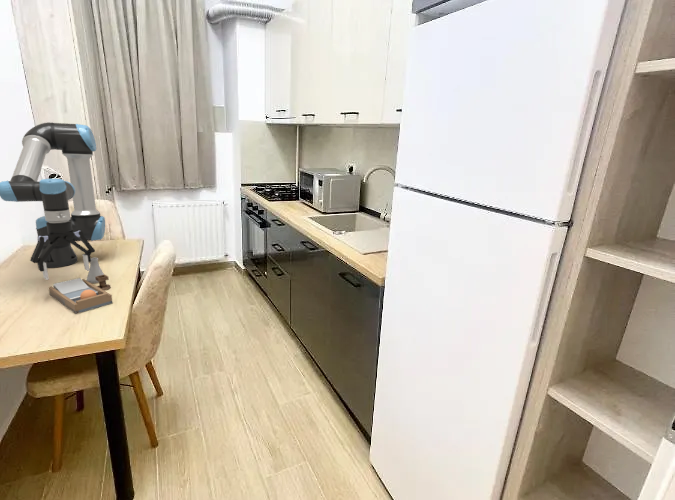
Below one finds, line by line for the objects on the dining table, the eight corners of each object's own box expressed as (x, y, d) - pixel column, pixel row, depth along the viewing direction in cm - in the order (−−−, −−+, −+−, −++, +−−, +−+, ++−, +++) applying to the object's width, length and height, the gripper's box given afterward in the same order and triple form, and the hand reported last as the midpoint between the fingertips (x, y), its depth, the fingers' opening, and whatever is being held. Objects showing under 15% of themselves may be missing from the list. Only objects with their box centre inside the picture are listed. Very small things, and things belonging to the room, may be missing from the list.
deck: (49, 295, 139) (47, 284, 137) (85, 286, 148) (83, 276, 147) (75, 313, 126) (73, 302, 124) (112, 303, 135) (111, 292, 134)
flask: (110, 279, 157) (107, 257, 154) (95, 284, 151) (91, 262, 148) (98, 276, 159) (95, 255, 157) (82, 281, 153) (79, 259, 150)
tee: (93, 288, 147) (92, 276, 145) (107, 285, 151) (105, 273, 149) (99, 291, 144) (97, 279, 143) (112, 288, 148) (111, 276, 147)
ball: (77, 295, 132) (77, 290, 128) (93, 290, 135) (93, 285, 132) (83, 307, 132) (83, 302, 128) (98, 301, 135) (99, 297, 131)
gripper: (19, 227, 122) (30, 285, 128) (99, 218, 142) (106, 268, 148) (12, 224, 126) (23, 280, 132) (91, 215, 146) (98, 264, 152)
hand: (67, 274), depth 140 cm, fingers open, 13 cm apart
